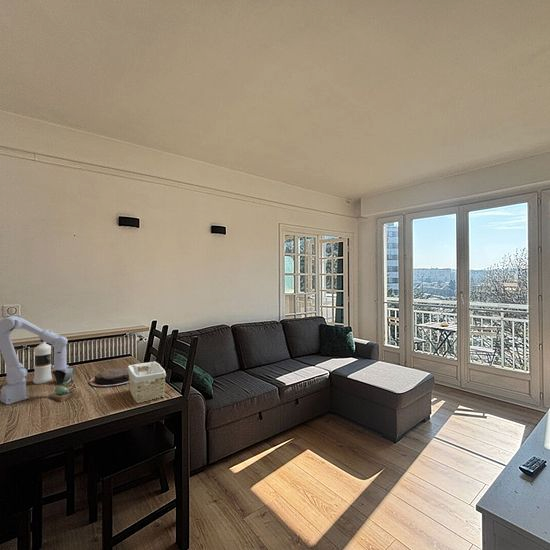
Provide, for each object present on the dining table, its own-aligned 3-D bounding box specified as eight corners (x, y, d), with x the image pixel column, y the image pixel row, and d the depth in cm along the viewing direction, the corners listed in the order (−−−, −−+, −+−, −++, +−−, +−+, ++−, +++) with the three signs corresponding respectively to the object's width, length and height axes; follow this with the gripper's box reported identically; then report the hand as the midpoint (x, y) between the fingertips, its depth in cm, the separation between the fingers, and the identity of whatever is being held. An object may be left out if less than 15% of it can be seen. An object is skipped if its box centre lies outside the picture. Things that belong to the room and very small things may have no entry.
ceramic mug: (58, 380, 190) (58, 368, 190) (74, 378, 194) (74, 366, 194) (55, 386, 181) (55, 373, 181) (72, 383, 185) (72, 371, 185)
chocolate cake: (97, 374, 202) (97, 365, 202) (142, 371, 210) (142, 362, 210) (82, 390, 175) (82, 378, 175) (135, 386, 183) (135, 375, 183)
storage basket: (166, 398, 164) (167, 371, 164) (133, 405, 155) (134, 376, 155) (156, 385, 184) (156, 360, 184) (126, 390, 175) (127, 364, 175)
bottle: (54, 395, 167) (62, 398, 162) (54, 387, 167) (63, 390, 162) (63, 393, 170) (71, 396, 166) (63, 385, 171) (72, 388, 166)
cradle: (61, 401, 158) (61, 397, 158) (49, 397, 164) (49, 392, 164) (80, 395, 166) (80, 391, 166) (69, 391, 172) (69, 387, 172)
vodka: (32, 381, 188) (33, 332, 188) (51, 378, 194) (52, 331, 194) (33, 385, 181) (33, 335, 181) (52, 382, 187) (53, 333, 187)
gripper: (75, 359, 168) (75, 383, 168) (61, 355, 175) (61, 379, 175) (61, 362, 162) (60, 387, 162) (47, 358, 169) (47, 382, 169)
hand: (60, 383), depth 168 cm, fingers closed
